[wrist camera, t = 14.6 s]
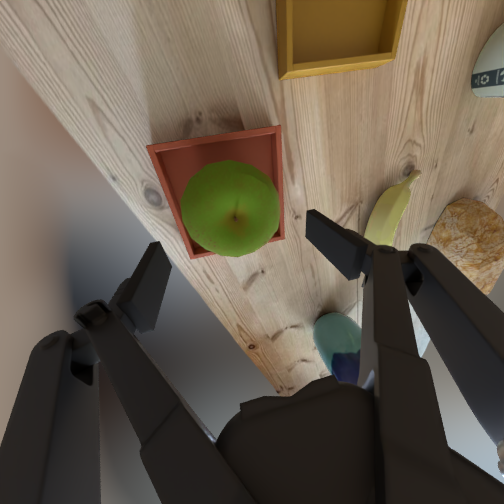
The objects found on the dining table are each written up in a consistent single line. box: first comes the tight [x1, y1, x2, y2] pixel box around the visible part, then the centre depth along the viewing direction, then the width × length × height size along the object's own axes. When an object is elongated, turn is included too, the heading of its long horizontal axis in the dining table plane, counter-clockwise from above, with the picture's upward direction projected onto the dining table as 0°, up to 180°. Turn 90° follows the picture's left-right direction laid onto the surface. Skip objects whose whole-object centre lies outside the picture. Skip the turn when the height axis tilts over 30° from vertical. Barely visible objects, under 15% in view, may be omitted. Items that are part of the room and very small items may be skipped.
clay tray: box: [146, 125, 285, 259], centre depth 29 cm, size 18×18×3 cm
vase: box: [313, 312, 362, 385], centre depth 43 cm, size 14×14×31 cm
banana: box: [364, 170, 421, 247], centre depth 38 cm, size 14×6×20 cm
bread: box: [427, 198, 504, 295], centre depth 47 cm, size 36×11×10 cm, turn 24°
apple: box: [180, 160, 281, 257], centre depth 25 cm, size 12×12×11 cm
